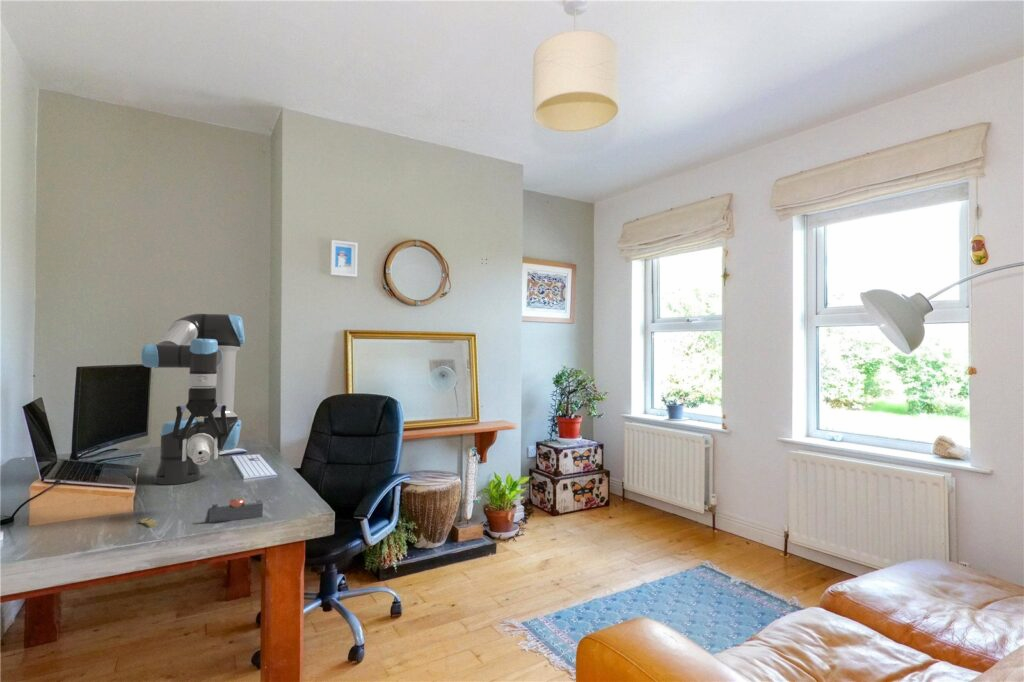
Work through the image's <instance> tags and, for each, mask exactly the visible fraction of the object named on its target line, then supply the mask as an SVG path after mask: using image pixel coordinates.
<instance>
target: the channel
mask: <svg viewBox="0 0 1024 682" xmlns="http://www.w3.org/2000/svg"><path fill="white" fill-rule="evenodd" d="M245 501H246V500H245V498H241V497H240V498H233V499H230V500H229V503H228V504H229V505H224V506H219V504H218V503H217V504H215V503H214V504H212V506H211V507H209V516H208V517H209V519H208V521H209V522H208V524H211V523H210V522H213V523H218V522H217V521H222V522H228V521H227V520H230V521H237V520H238V521H239V520H245V519H246V520H247V519H254V518H255V519H256V518H257V519H258V518H262V517H263V509H264V508H263V507H264V506H263V505H264V503H263V502H262V499H257V500H256V502H253V503H245Z"/></svg>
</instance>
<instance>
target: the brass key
mask: <svg viewBox="0 0 1024 682" xmlns="http://www.w3.org/2000/svg"><path fill="white" fill-rule="evenodd" d="M140 524H141V525H146V526H147V527H149V528H153V527H157V525H158V523H157V522H156V521H154V520H153V518H152V517H146V518H142V519H140Z"/></svg>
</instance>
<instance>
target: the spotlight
mask: <svg viewBox="0 0 1024 682" xmlns="http://www.w3.org/2000/svg"><path fill="white" fill-rule="evenodd" d="M214 442H215V441H214V439H213V437H211V436H210V435H209V434H205V433H198V434H195V435H193V436H191V437H190V438H189V439H188V441H187V444H186V453H187V455H188V456H189V457H190V458H192V460H193V462H194V463H195V464H198V465H201V466H202V465H205V464H207V463H208V462H209V461H210V458H211V456H212V455H214Z"/></svg>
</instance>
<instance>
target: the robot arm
mask: <svg viewBox="0 0 1024 682" xmlns="http://www.w3.org/2000/svg"><path fill="white" fill-rule="evenodd" d="M245 340H246V336H245V329H244V321H243V319H242V317H241V316H239V315H234V314H225V313H224V314H220V313H219V314H217V313H193V314H189V315H185V316H183V317H181V318H179V319H176V320H175V321H174V322H172V323H171V325H170V326H169V328H168V332H167V333H166V335H164V336H163V338H162V339H161V340H160V341H159V342H158V343H157V344H156V343H151V344H149V343H148V344H144V345H143V347H142V349H141V356H140V357H141V364H142V366H144V367H146V368H155V369H158V368H159V369H160V368H161V369H162V368H167V369H168V368H170V369H171V368H172V369H173V368H175V369H177V368H178V369H180V368H181V369H183V368H186V369H187V368H188V369H189V377H188V387H190V388H188V400H187V403H186V404H183V405H177V406H176V407H175V411H176V416H175V419H174V420H168V421H166V422H164V423H163V424H162V425H161V431H160V459H159V460H160V461H159V463H158V466H157V469H156V471H155V473H154V476H153V484H156V485H165V486H166V485H181V484H182V485H183V484H187V483H192V482H195V481H199V480H200V479H201V478H202V476H201V475H202V472H201V469H200V466H199V465H198V464H195V463H194V462H193V460H192V458H190V457H189V456H188V455H187V453H186V444H187V441H188V439H189V438H190V437H191V436H193V435H195V434H198V433H205V434H209V435H210V436H211V437H213V439H214V441H215V442H214V452H213V460H218V456H219V455H218V453H219V451H221V452H223V451H231V450H234V449H236V447H238V443H239V440H240V434H241V429H242V420H241V419H238V416H239V415H237V414H236V413H235V412H234V405H235V382H236V364H237V363H236V362H237V361H236V360H237V359H236V357H237V352H238V351H239V350H240V349H241V345H243V344H245V342H246V341H245ZM186 409H187V410H188V411H189V413H190V415H189V417H184V418H183V414H184V413H185V412H186ZM200 417H203V421H199V419H198V418H200Z"/></svg>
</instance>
